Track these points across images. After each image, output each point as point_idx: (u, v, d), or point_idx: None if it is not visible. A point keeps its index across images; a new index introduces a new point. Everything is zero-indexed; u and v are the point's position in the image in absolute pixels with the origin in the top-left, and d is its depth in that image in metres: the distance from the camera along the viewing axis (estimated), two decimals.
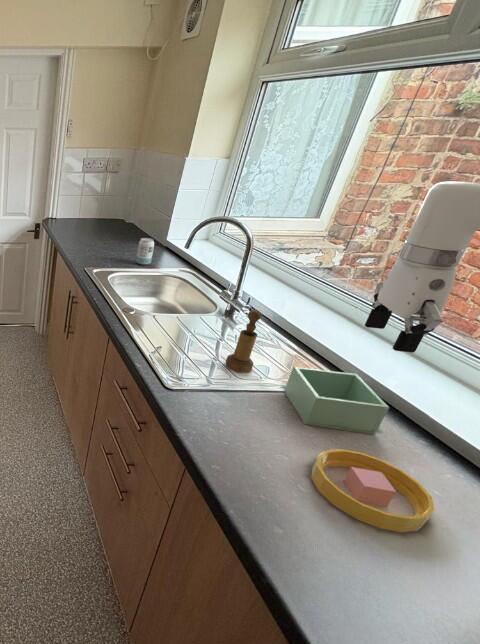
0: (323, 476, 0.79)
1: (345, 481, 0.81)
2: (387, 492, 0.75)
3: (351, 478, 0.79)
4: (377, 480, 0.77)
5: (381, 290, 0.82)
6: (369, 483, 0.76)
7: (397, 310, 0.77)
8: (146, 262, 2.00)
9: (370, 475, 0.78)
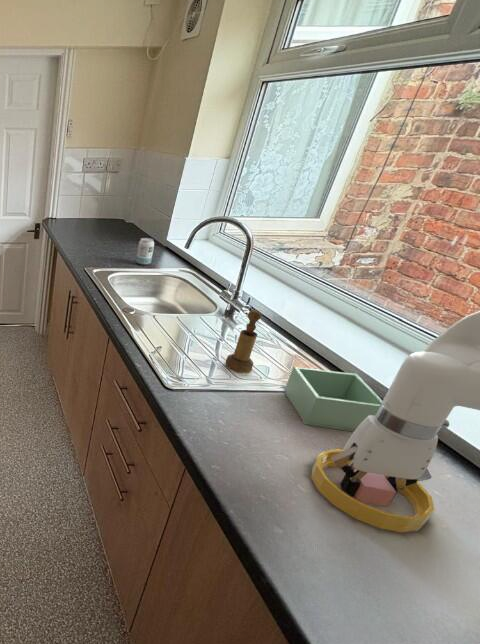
0: (323, 476, 0.79)
1: None
2: (387, 492, 0.75)
3: None
4: (377, 480, 0.77)
5: (364, 462, 0.74)
6: (369, 483, 0.76)
7: (404, 475, 0.73)
8: (146, 262, 2.00)
9: (370, 475, 0.78)
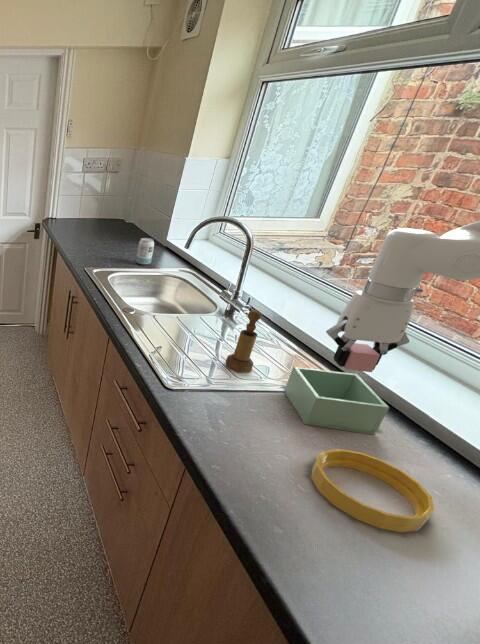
0: (323, 476, 0.79)
1: None
2: (372, 356, 0.89)
3: None
4: (364, 349, 0.91)
5: (353, 329, 0.88)
6: (357, 350, 0.90)
7: (387, 339, 0.87)
8: (146, 262, 2.00)
9: (358, 346, 0.92)
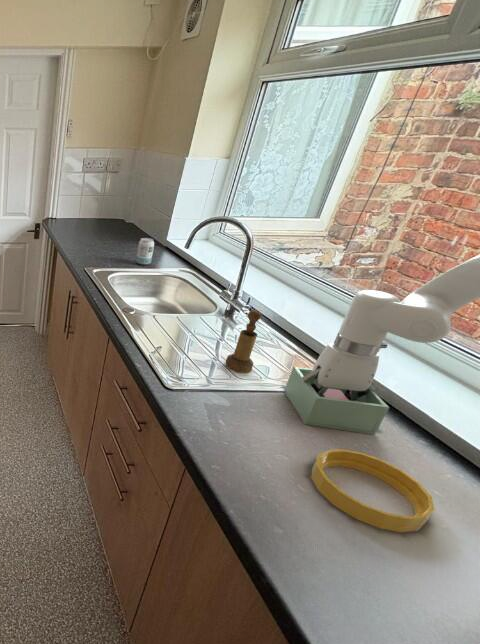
0: (323, 476, 0.79)
1: None
2: None
3: None
4: (336, 395, 0.99)
5: (326, 378, 0.97)
6: (330, 396, 0.99)
7: (356, 387, 0.96)
8: (146, 262, 2.00)
9: (331, 392, 1.01)
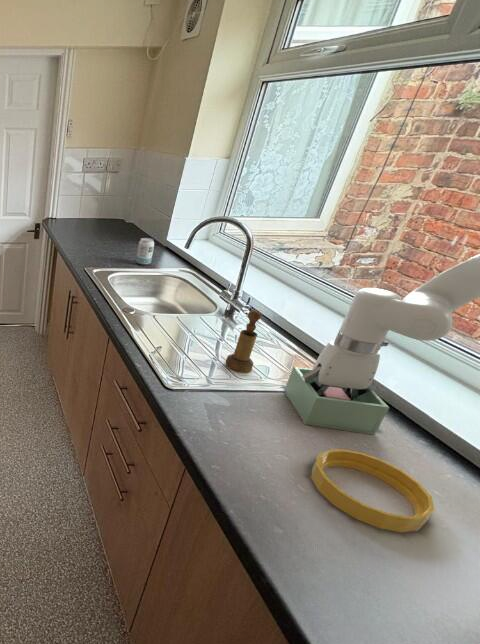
0: (323, 476, 0.79)
1: None
2: None
3: None
4: (337, 393, 0.99)
5: (326, 376, 0.96)
6: (330, 395, 0.99)
7: (356, 385, 0.95)
8: (146, 262, 2.00)
9: (332, 390, 1.00)
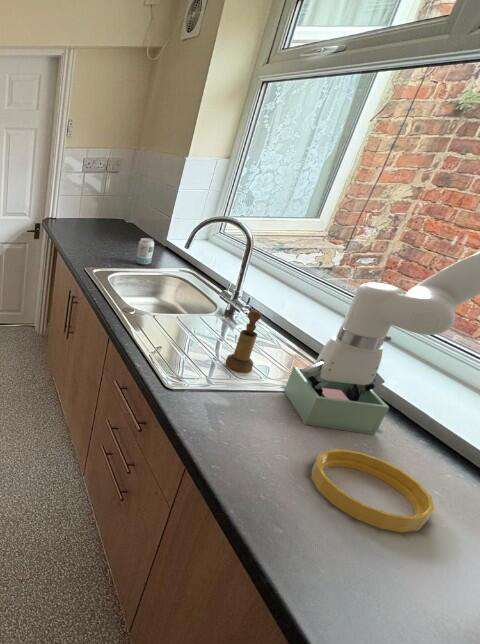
0: (323, 476, 0.79)
1: None
2: None
3: None
4: (337, 395, 0.99)
5: (329, 372, 0.96)
6: (330, 397, 0.99)
7: (359, 381, 0.95)
8: (146, 262, 2.00)
9: (332, 392, 1.00)
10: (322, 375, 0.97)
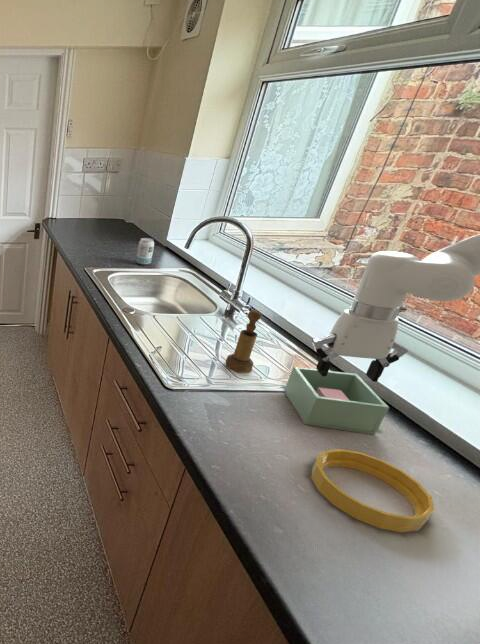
0: (323, 476, 0.79)
1: None
2: None
3: None
4: (337, 395, 0.99)
5: (342, 346, 0.93)
6: (330, 397, 0.99)
7: (374, 355, 0.91)
8: (146, 262, 2.00)
9: (332, 392, 1.00)
10: (335, 350, 0.94)
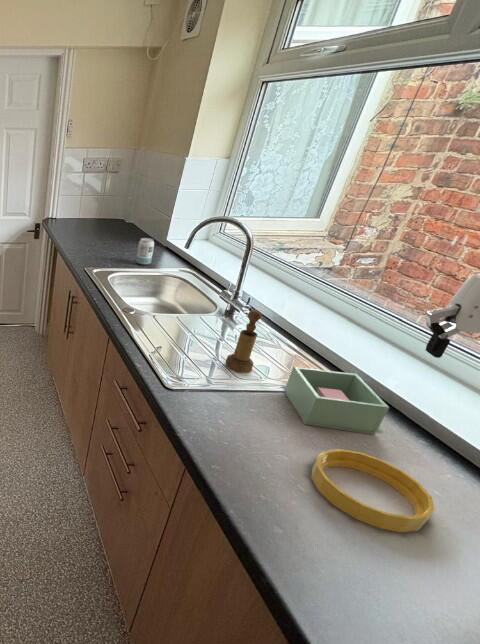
0: (323, 476, 0.79)
1: None
2: None
3: None
4: (337, 395, 0.99)
5: (469, 320, 0.74)
6: (330, 397, 0.99)
7: None
8: (146, 262, 2.00)
9: (332, 392, 1.00)
10: (459, 324, 0.75)
